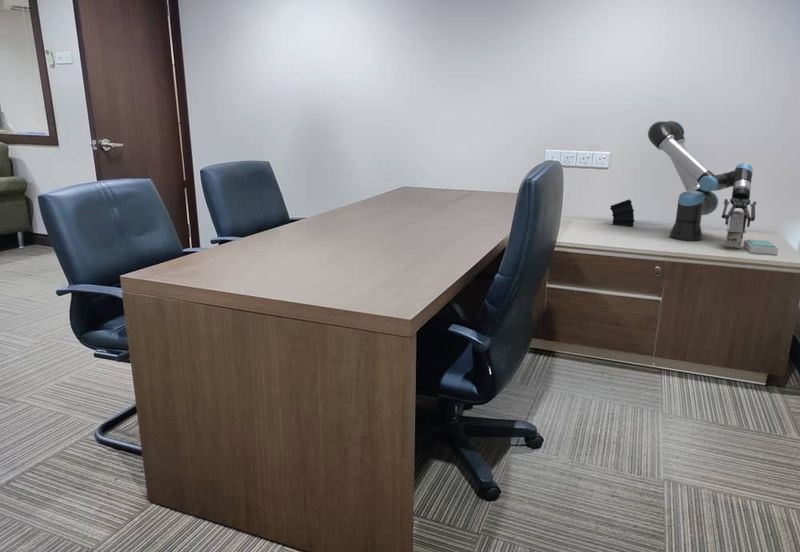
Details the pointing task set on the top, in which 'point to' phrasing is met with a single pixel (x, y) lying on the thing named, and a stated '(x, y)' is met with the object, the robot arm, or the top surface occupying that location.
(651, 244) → the top surface
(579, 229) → the top surface
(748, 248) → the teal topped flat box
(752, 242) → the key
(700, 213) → the robot arm
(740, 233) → the coffee box
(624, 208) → the black ridged block
